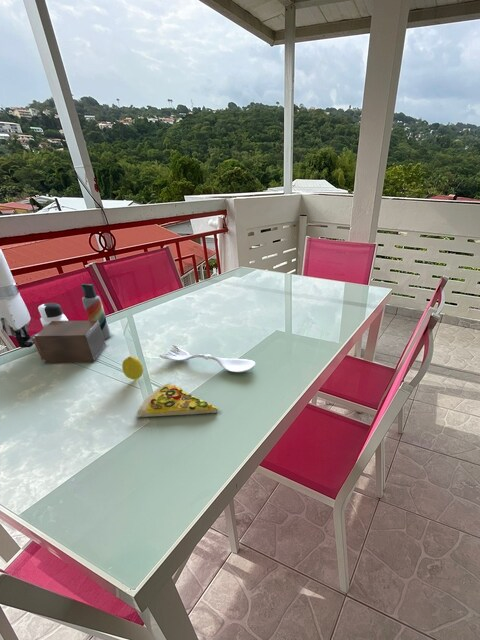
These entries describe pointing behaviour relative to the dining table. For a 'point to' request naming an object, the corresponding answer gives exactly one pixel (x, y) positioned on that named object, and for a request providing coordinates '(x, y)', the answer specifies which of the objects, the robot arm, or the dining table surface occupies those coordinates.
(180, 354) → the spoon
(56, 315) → the container
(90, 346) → the cabinet
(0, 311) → the robot arm
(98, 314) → the lotion bottle
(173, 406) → the pizza slice
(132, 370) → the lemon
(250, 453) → the dining table surface
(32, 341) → the drawer
